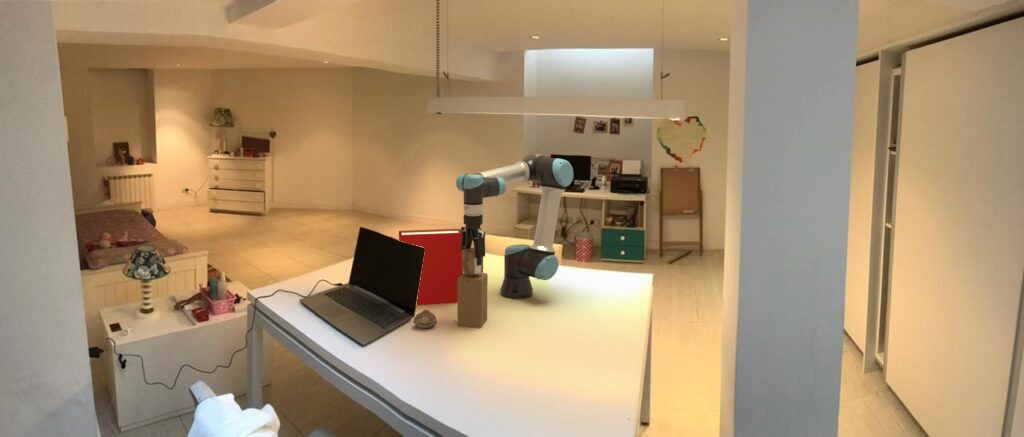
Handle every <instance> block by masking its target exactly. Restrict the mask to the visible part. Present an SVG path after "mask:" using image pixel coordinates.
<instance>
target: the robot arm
mask: <svg viewBox="0 0 1024 437" xmlns="http://www.w3.org/2000/svg"><path fill="white" fill-rule="evenodd" d="M573 180H574V169H573V166H572V165H571V163H570V162H569V161H568V160H566V159H563V158H558V157H557V158H556V157H548V156H547V157H545V156H535V157H531V158H527V159H522V160H518V161H516V162H515V163H513V164H510V165H505V166H502V167H497V168H493V169H489V170H484V171H481V172H475V173H470V174H469V173H461V174H459V175H458V176H457V178H456V180H455V186H456V188H457V190H458V191H461V192H463V224H464V226H461V227H460V229H461V231H462V238H461V250H464V249H470V248H472V245H473V248H474V249H475V255H476V257H474V273H475V274H477V273H481V261H482V257H483V258H484V257H486V240H485V239H486V231H482V229H481V228H482V227H481V225H483V222H484V219H483V218H484V216H483V213H484V198H493V197H499V196H500V197H501V196H502V195H504V194H505V193H506V190H507V185H509V184H511V183H516V182H521V183H525V182H536V183H539V188H540V189H541V194H540V195H541V197H540V203H539V209H538V215H537V220H536V227H535V234H534V239H533V243H532V244H531V245H529V244H524V243H523V244H520V243H519V244H513V245H508V246H506V247H505V249H504V255H503V256H504V257H503V258H504V259H503V260H504V261H503V262H504V268H503V270H504V275H503V277H504V278H503V281H502V284H501V287H500V289H499V290H500V292H499V294H500V295H501V296H502V297H505V298H509V299H517V300H518V299H526V298H530V297H532V296H533V293H534V289H533V286H532V283H531V279H530V277H531V278H534V279H537V280H541V281H548V280H551V279H552V278H553V277H554V276H555V275H556V274H557V272H558V269H559V259H558V257H557V256H556V250H555V248H554V247H553V246H554V241H555V235H556V228H557V222H558V216H559V210H560V204H561V197H562V194H563V193H564V192H566V187H568V186H570V185H571V183H572V182H573Z"/></svg>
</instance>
